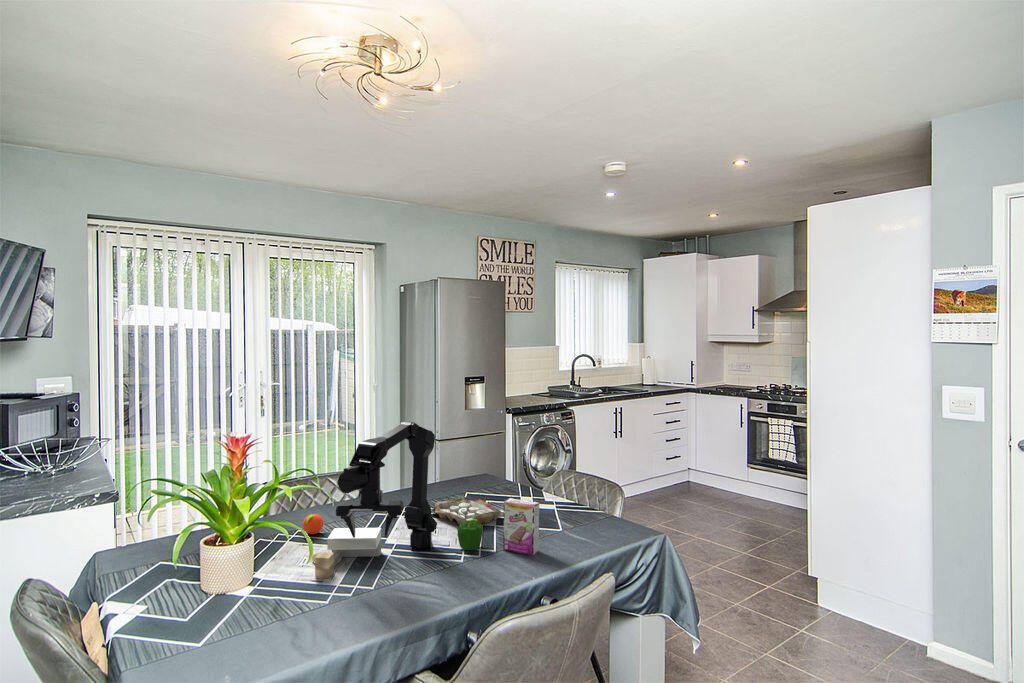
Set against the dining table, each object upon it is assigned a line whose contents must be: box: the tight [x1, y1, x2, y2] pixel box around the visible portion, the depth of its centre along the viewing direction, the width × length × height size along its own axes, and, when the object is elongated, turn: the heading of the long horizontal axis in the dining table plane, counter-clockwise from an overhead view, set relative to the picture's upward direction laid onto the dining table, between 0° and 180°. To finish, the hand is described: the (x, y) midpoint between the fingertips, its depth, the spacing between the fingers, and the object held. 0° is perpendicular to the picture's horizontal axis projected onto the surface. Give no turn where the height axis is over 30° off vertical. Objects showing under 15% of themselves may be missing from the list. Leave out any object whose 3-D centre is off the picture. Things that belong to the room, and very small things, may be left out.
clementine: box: [302, 513, 324, 535], centre depth 201 cm, size 8×7×7 cm
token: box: [311, 552, 320, 563], centre depth 179 cm, size 5×5×2 cm
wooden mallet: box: [314, 550, 343, 579], centre depth 174 cm, size 4×15×6 cm, turn 176°
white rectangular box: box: [326, 527, 382, 558], centre depth 181 cm, size 15×9×8 cm, turn 94°
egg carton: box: [431, 496, 504, 525], centre depth 221 cm, size 30×22×5 cm
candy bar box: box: [502, 497, 540, 556], centre depth 187 cm, size 11×5×16 cm, turn 65°
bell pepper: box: [457, 519, 484, 551], centre depth 190 cm, size 8×8×10 cm
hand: (370, 537), depth 167 cm, fingers open, 9 cm apart
